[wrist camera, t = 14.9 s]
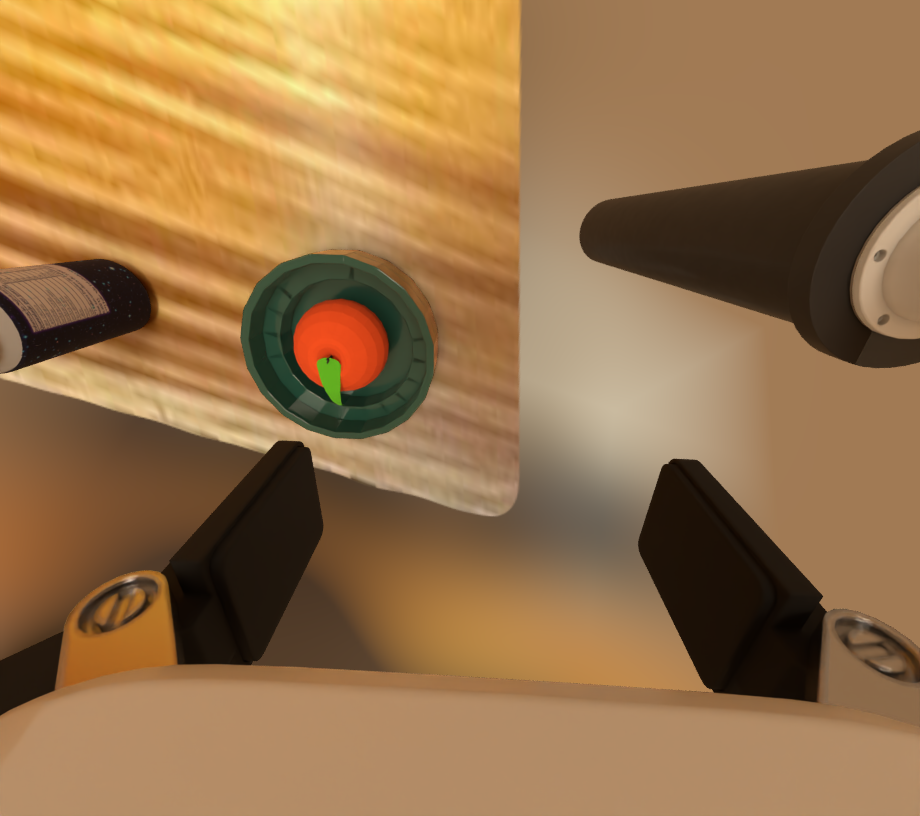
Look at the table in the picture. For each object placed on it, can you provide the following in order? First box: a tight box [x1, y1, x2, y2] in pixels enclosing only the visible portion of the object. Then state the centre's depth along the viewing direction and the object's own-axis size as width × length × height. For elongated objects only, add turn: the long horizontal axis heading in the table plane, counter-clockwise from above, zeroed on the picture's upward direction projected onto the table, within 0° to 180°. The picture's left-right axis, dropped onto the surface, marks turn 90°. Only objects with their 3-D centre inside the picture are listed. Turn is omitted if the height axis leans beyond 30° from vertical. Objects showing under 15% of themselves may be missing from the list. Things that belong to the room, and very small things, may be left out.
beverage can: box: [0, 259, 151, 374], centre depth 26 cm, size 6×6×12 cm
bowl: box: [240, 249, 438, 439], centre depth 31 cm, size 14×14×5 cm
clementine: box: [294, 299, 389, 405], centre depth 29 cm, size 8×7×7 cm
